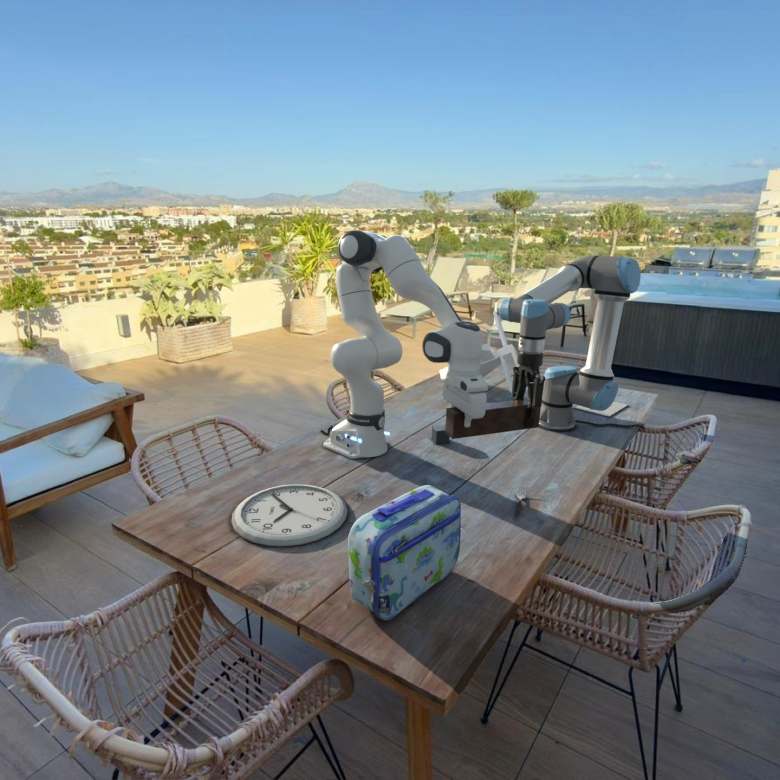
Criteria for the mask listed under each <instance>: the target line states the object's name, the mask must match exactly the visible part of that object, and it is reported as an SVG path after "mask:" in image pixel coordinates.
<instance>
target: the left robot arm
mask: <svg viewBox="0 0 780 780" xmlns="http://www.w3.org/2000/svg"><path fill="white" fill-rule="evenodd" d="M337 252H338V255H339V257H340V259H341V260H342V261H343V262H342V263H341V264H339V265H338V266H337V268H336V270H335V285H336V292H337V298H338V302H339V308H340V312H341V318H342V321H343V323H344V324H345V325H346V326H348V327H350V328H352V329H353V330H354V331H356V332H357V334H358V335H359V337H355V338H348V339H345V340H342V341H340V342H338V343H335V344H334V345H333V346H332V348H331V350H330V356H329V357H330V358H329V360H330V363H331V366H332V367H333V369H334V370H335V371H336V372H337V373H339V374H340V375H342V377H343V378H344V379H345V381H346V384H347V385H348V388H349V398H350V408H348V409H346V410H345V411H344V412H343V413H344V414H343V416H346V418H344V419H343V420H342V421H340V422H337V423H334V424H331V425H330V426H329V427H328V428H327V431H325V430H323V429H320V433H322V434H324V435H326V436H328V435H330V437H329V438H327V439H325V440H324V442H323V448H325V449H327V450H330V451H332V452H334V453H336V454H339V455H341V456H344V457H346V458H349V459H351V460H355V459H360V458H361V459H362V458H374V457H375V458H376V457H379V456H382V455H384V454H386V453H387V452H388V450H389V447H388V443H387V440H386V439H387V438H386V436H390V432H389V431H385V423H386V411H385V409H384V407H385V390H384V388H383V386H382V385H381V384H380V383H379V382H378V381H376V380H373V378H372V371H376V370H379V369H387V368H389V367H392V366H394V365H396V364H398V363H399V362H400V361H401V359H402V357H403V346H402V343H401V341H400V339H399V338H398V337H397V336H395V335H394V334H392V333H391V332H389V330H388V329H386V327H385V326H384V325H383V323H382V321H381V319H380V317H379V314H378V313H377V308H376V304H375V301H374V300H375V299H374V296H373V292H372V291H373V290H372V287H371V281H370V278H371V275H372V274H373V275H377V274H378V273H380V272H381V271H382V270H383V271H384V273H385V275H386V277H387V280H388V283H390V286H391V288H392V289H393V291H394V292H395V293H396V294H397V295H398V296H399V297H401V298H402V299H405V300H409V301H412V302H415V303H419V304H421V305H423V306H425V307H426V308H427V309H429V310H430V311H431V312H432V314H433V315H434V317H435V318H436V320H437V322H438V323H439V325H440V326H441V329H437V330H432V331H429V332H428V333H426V334H425V336H424V337H423V339H422V345H421V346H422V352H423V355H424V357H425V358H426V359H427V360H428V361H429V362H431V363H434V364H442V363H447V364H448V366H449V365H450V367H449V372H448V373H447V377H446V378H445V381H444V382H443V387H442V388H443V389H442V397H443V400H445V401H446V402H448V403H449V404H451V406H450V408H453V407H456V408H458V409H459V410H461V411H462V412H464V413H465V416H466V417H465V420H463V426H465V427H470V424H471V420H472V419H478V418H483V416H484V415H485V411H486V404H487V400H488V399H487V393H486V392H487V391H488V390H489V383H487V381H486V380H485V378H484V377H482V375H481V374H480V364H479V360H480V357H481V351H482V345H483V337H482V330H481V328H480V326H479V325H478V324H476V323H474V322H472V321H466V320H462V319H461V317H460V316H459V315H458V313H457V311H456V310H455V308H454V307H453V305H452V303H451V301H450V300H449V299H448V297H447V296H446V294H445V292H444V291H443V289H442V288H441V287H440V286H439V285H438V284H437V283H436V282H435V281H434V279H432V277H431V276H430V275H429V273H428V271H427V270H426V269H425V267H424V265H423V263H422V262H421V260H420V258H419V256H418V254H417V253H416V251H415V250H414V248H413V247H412V245H411V243H410V242H409V241H408V239H406V238H405V236H403V235H400V234H394V235H390V236H388V237H387V236H385V235H382V234H380V233H379V234H378V233H376V232H373V231H363V230H360V229H352V230H348V231H346V232H344V233H343V234H342V235H341V236H340V238H339V241H338V244H337Z"/></svg>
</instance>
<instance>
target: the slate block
mask: <svg viewBox="0 0 780 780" xmlns="http://www.w3.org/2000/svg"><path fill="white" fill-rule="evenodd" d="M445 428H446V424H442V425H441V424H440V425H432V426H431V440H432V441H433V443H435V445H443V444H444V445H445V444H450V439H451V437H450V436H448V435H447V434H446V433H445Z"/></svg>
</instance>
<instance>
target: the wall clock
mask: <svg viewBox="0 0 780 780" xmlns="http://www.w3.org/2000/svg"><path fill="white" fill-rule="evenodd" d="M347 515H348V507H347V504H346V502H345V501H344V499H343V498H342V497H341V496H340V495H338V494H337V493H335V492H333V491H332V490H330V489H327V488H325V487H321V486H317V485H311V484H299V483H298V484H297V483H295V484H294V483H293V484H282V485H278V486H273V487H269V488H266V489H263V490H260V491H257V492H255V493H253V494H252V495H250V496H248V497H246V498H245V499H244V500H242V501H241V502H240V503H239V504H238V505H237V506H236V508H235V509H234V510H233V512H232V516H231V525H232V527H233V530H234V532H235V533H237V534H238V536H240V537H241V538H243V539H245V540H246V541H248V542H251V543H255V544H258V545H264V546H269V547H291V546H301V545H305V544H309V543H312V542H316V541H320V540H321V539H323V538H325V537H327V536H330V535H332V534H333V533H334V532H336V531H337V530H338V529H340V527H341V526H342V525H343V524H344V522H345V521H346V519H347Z"/></svg>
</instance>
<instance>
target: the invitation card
mask: <svg viewBox="0 0 780 780" xmlns="http://www.w3.org/2000/svg"><path fill="white" fill-rule="evenodd" d="M628 406H629V404H627V403H623V402H618V401H615V400H614V401H613V403H612V404H611V406H610V407H609V408H608V409H606V410H604V411H598V410H594V409H593V410H591V409H590V408H586V407H583V406H579V405H575V406H574V407H573V409H575V410H581V411H584V412H587V413H593V414H596V415H600V416H604V417H608V418H609V417H611V416H613V415H614V414H616V413H617V412H619V411H621V410H623V409H624V408H626V407H628Z"/></svg>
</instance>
